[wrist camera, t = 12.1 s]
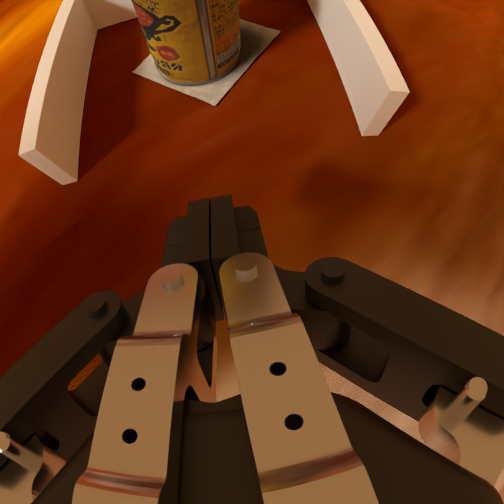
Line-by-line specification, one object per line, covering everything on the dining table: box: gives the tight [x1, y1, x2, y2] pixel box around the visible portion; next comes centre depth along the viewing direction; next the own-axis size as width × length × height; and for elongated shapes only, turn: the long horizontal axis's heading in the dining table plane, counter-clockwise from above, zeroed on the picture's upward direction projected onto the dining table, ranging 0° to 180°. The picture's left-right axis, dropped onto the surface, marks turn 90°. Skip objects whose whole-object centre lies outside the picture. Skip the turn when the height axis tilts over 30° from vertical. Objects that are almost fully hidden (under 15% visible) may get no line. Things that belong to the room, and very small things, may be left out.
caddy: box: [19, 0, 410, 185], centre depth 17 cm, size 20×16×5 cm
